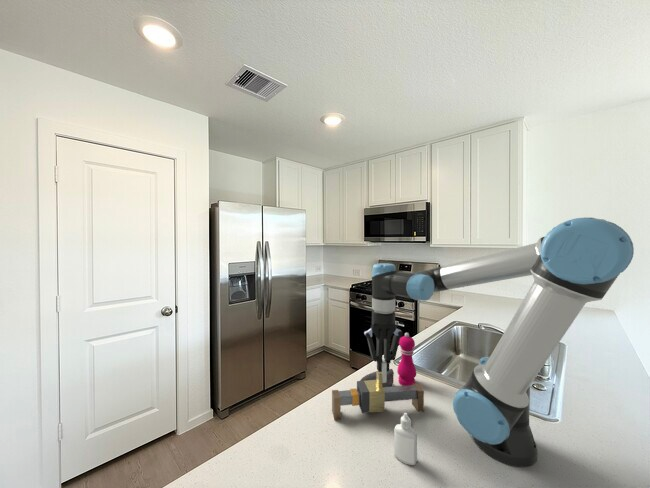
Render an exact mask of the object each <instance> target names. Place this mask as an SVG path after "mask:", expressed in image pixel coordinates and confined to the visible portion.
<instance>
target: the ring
mask: <svg viewBox="0 0 650 488" xmlns="http://www.w3.org/2000/svg"><path fill="white" fill-rule="evenodd" d="M358 389H359V390H360V393H361V404H359V405H358V407H359V409H360V411H361V413H362V414H368V413H370V412H369V404H370V392H369V390H368V388H367V386H366V384H365V382H364V381H360V380H357V381H356V390H358Z"/></svg>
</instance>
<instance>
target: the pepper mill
mask: <svg viewBox="0 0 650 488" xmlns="http://www.w3.org/2000/svg"><path fill="white" fill-rule="evenodd" d="M415 344H416V342H415V339H414V338H413V337H411V336H410V334H409V332H405V333H404V335H402V336H401V338H400V341H399V345H398V346H399V347H400V348H399V350H400V351H399V353H401V360H400V361H399V364H398V366H397V371H396V373H397V374H398V383H399V384H400V386H407V385H412V384H416V379H415V378H416V377H417V369H416V366H415V364H414V360H413V355H414V348H416V347H415V346H416V345H415Z"/></svg>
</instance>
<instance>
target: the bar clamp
mask: <svg viewBox="0 0 650 488" xmlns="http://www.w3.org/2000/svg"><path fill="white" fill-rule="evenodd" d="M383 389H384V390H385V403H386V402H396V401H397V402H398V401H408V400H411V405H412V406H413V407H414V409H415V410H416V412H417V413H422V412H424V410H425V409H424V404H425V400H424V399H425V398H424V397H425V395H424V394H425V391H424V389H423V388H422V387H421V385H419V383H415V384H412V385H407V386H403V385H397V386H392V387H383ZM359 404H361V393H360V390H359V389H358V390H357V387H355V388H349V390H338V389H332V390H331V412H332V415H333V420H334V421H339V420H341V419H342V418H341V417H342V416H341V409H342V408H341V407H342V406H351V405H352V407H355V406H356V407H357V406H359Z"/></svg>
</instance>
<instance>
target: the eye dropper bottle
mask: <svg viewBox="0 0 650 488" xmlns="http://www.w3.org/2000/svg"><path fill="white" fill-rule="evenodd" d="M393 433H394V434H393V436H394V437H393V455H394V458H396V459H397V460H398V461H399V462H401V463H403V464H406V465H409V466H415V465H416V463H417V461H418V433H417V431H416V430H415V429H414V428H413V427H411V418H410V417H409V416H408V413H407V412H404V413H403V415H401V417H400V423H397V424H396V425H395V427H394V432H393Z"/></svg>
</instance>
